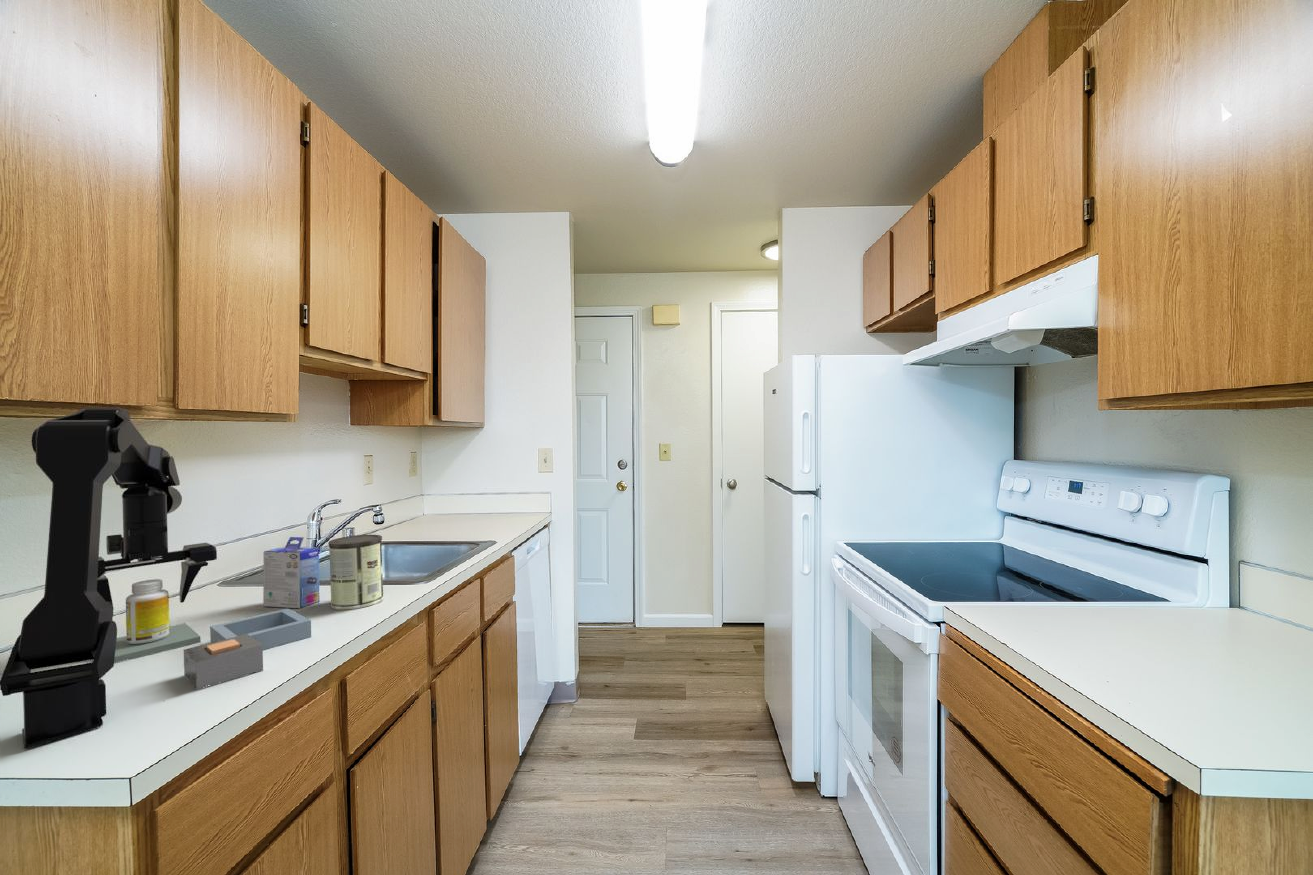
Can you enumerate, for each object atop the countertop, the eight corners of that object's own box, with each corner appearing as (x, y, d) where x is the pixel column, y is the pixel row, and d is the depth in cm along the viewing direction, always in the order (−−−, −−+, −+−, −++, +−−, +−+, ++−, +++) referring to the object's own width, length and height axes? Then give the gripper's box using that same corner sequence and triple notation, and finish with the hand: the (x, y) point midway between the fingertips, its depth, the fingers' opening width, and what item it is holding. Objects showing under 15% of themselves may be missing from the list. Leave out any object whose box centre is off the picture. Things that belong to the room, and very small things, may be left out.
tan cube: (212, 670, 81) (212, 650, 81) (207, 665, 83) (206, 645, 83) (240, 663, 83) (239, 643, 83) (234, 657, 86) (233, 638, 86)
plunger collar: (196, 690, 78) (196, 662, 78) (184, 675, 83) (183, 649, 83) (263, 670, 84) (262, 644, 84) (247, 657, 89) (247, 633, 89)
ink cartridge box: (321, 601, 120) (320, 536, 120) (300, 609, 114) (299, 541, 114) (284, 599, 122) (283, 535, 122) (262, 607, 116) (260, 540, 116)
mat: (105, 665, 87) (105, 659, 87) (96, 648, 95) (96, 642, 95) (200, 641, 97) (200, 636, 96) (185, 628, 104) (185, 622, 104)
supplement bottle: (178, 633, 98) (177, 577, 98) (146, 645, 92) (145, 586, 93) (150, 633, 99) (149, 577, 99) (117, 645, 93) (116, 586, 93)
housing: (229, 659, 89) (228, 640, 88) (210, 642, 96) (210, 625, 96) (311, 636, 98) (310, 620, 98) (288, 623, 105) (287, 608, 105)
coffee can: (345, 596, 123) (343, 535, 123) (391, 594, 124) (390, 533, 124) (319, 611, 113) (318, 544, 113) (370, 609, 113) (368, 542, 113)
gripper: (201, 511, 108) (203, 589, 108) (63, 524, 93) (66, 614, 93) (216, 515, 101) (218, 598, 101) (69, 530, 86) (72, 627, 86)
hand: (147, 608), depth 96 cm, fingers open, 9 cm apart
